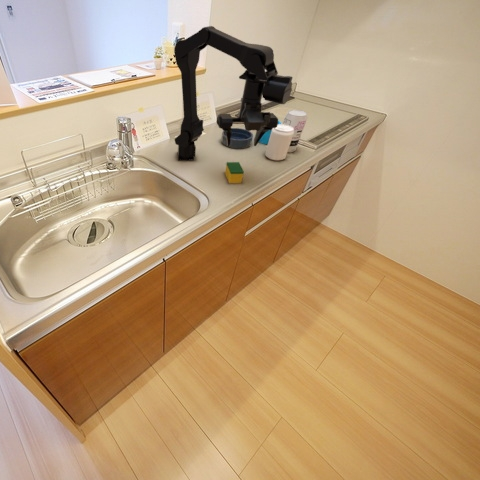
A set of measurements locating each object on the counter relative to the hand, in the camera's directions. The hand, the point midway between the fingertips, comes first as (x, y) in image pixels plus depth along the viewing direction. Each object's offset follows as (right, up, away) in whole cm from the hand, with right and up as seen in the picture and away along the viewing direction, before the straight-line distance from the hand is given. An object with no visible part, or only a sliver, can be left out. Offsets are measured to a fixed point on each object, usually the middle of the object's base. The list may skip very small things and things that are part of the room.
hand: (241, 146), depth 94 cm
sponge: (-1, -10, +7) cm, 12 cm away
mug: (+22, +14, +31) cm, 40 cm away
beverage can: (+19, +2, +19) cm, 27 cm away
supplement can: (+26, +7, +24) cm, 36 cm away
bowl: (+6, +11, +29) cm, 31 cm away
